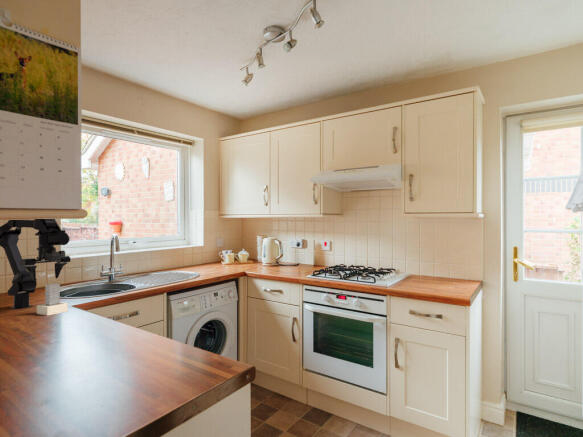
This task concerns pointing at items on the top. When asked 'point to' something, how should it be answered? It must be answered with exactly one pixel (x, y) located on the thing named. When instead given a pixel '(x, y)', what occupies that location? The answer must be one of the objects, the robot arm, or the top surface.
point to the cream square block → (52, 309)
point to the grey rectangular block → (52, 294)
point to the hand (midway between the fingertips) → (45, 279)
